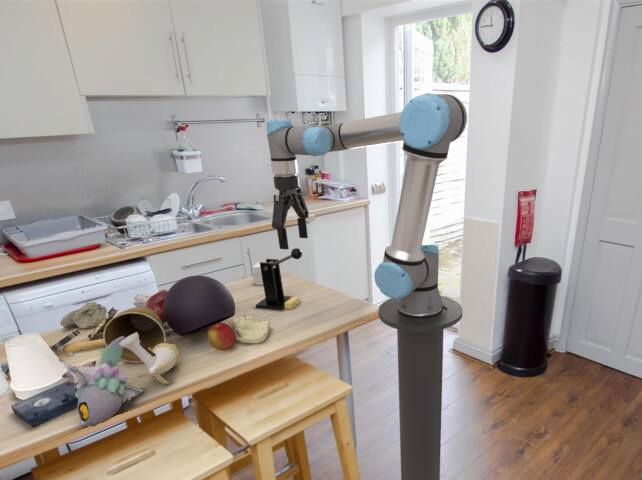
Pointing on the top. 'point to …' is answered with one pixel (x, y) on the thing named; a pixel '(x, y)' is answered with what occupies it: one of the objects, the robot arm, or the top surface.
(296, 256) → the slicer arm
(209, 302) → the dark purple dome
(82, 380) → the toy
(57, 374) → the cup
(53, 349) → the toy
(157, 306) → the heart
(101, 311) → the fossil
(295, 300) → the butter
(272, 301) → the black lever stand
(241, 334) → the lumpy plaster cast
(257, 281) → the white cardboard box
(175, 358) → the toy gun
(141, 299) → the skull
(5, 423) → the top surface
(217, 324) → the apple
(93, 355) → the top surface
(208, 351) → the top surface
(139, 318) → the plant pot
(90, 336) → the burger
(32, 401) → the vhs cassette tape
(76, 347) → the novelty tool
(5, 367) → the wristwatch
